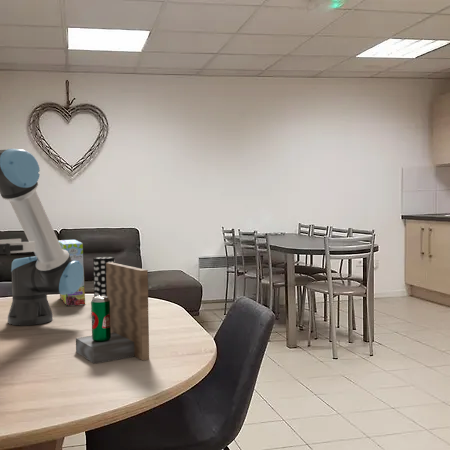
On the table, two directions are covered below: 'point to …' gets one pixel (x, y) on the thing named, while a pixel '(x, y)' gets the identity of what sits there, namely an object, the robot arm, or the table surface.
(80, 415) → the table surface
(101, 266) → the spotted tube
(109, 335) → the soda can
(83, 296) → the snack box
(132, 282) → the wall board
